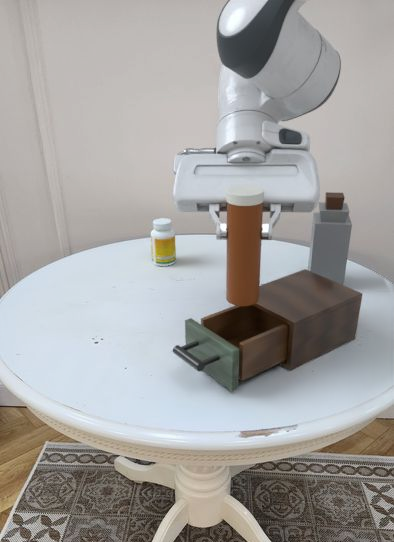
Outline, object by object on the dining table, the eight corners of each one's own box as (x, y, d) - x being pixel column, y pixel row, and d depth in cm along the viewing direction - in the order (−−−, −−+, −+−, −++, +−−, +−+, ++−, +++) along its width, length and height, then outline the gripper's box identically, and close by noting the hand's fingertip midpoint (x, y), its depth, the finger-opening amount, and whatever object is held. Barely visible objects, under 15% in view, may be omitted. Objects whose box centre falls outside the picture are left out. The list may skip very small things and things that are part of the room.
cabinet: (289, 371, 83) (294, 322, 78) (237, 338, 91) (238, 293, 87) (355, 339, 90) (362, 293, 86) (301, 311, 99) (305, 268, 94)
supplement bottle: (147, 262, 120) (144, 220, 115) (166, 256, 123) (164, 215, 118) (161, 269, 117) (159, 226, 112) (181, 262, 120) (179, 221, 115)
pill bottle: (266, 300, 78) (272, 190, 70) (240, 310, 76) (243, 197, 67) (244, 288, 81) (247, 182, 73) (218, 297, 79) (218, 189, 70)
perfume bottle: (307, 275, 113) (315, 189, 103) (339, 276, 112) (351, 190, 102) (308, 288, 107) (317, 199, 98) (342, 290, 106) (355, 200, 97)
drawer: (208, 402, 75) (208, 362, 71) (164, 366, 83) (161, 328, 79) (302, 357, 84) (306, 319, 81) (253, 329, 92) (255, 293, 88)
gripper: (171, 135, 74) (166, 227, 71) (321, 134, 72) (322, 228, 69) (176, 161, 80) (171, 247, 77) (314, 160, 78) (315, 248, 75)
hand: (244, 238), depth 73 cm, fingers closed on pill bottle, 5 cm apart
